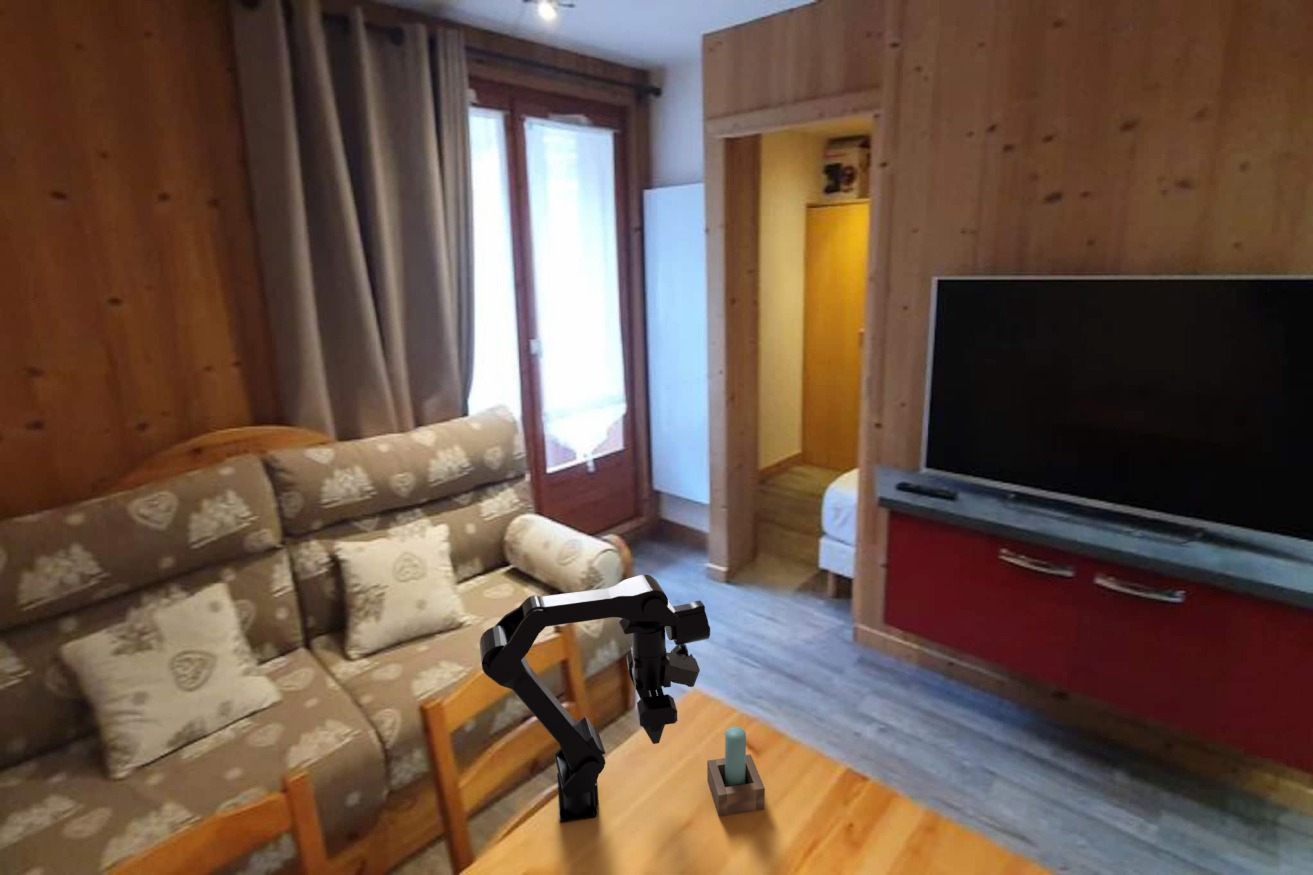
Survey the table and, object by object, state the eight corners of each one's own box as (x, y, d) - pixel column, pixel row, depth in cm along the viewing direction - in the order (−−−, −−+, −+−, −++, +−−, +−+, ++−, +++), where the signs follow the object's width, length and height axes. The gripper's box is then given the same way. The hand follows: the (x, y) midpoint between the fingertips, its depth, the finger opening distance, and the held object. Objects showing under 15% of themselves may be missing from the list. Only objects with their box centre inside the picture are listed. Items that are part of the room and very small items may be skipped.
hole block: (718, 816, 116) (718, 795, 115) (707, 780, 124) (707, 760, 123) (764, 809, 117) (764, 788, 116) (750, 774, 125) (750, 754, 124)
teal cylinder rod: (724, 801, 119) (724, 740, 116) (725, 785, 123) (725, 725, 119) (744, 803, 119) (745, 742, 115) (745, 788, 122) (746, 727, 118)
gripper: (707, 675, 108) (708, 756, 112) (684, 614, 125) (685, 686, 130) (638, 683, 106) (642, 765, 110) (624, 621, 124) (628, 694, 128)
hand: (651, 724), depth 120 cm, fingers open, 9 cm apart
